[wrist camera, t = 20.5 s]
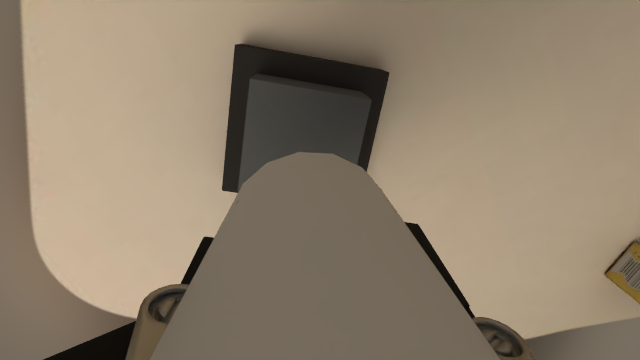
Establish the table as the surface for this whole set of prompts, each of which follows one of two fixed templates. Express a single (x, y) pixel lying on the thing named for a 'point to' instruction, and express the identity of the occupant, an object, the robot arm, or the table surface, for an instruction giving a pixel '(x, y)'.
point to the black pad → (301, 69)
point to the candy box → (627, 272)
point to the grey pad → (300, 121)
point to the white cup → (318, 277)
